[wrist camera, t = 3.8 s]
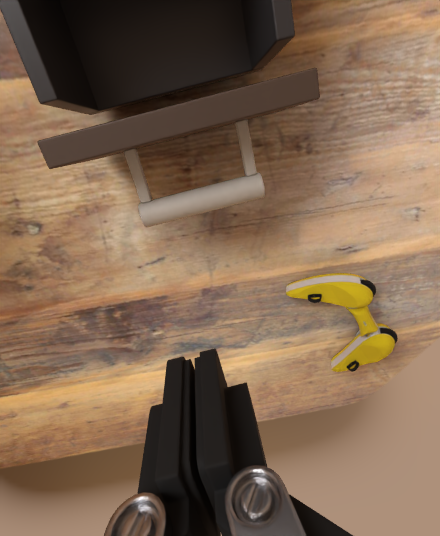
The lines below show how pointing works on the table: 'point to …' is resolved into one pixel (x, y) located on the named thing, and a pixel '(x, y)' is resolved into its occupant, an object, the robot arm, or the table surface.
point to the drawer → (157, 80)
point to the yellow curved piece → (356, 301)
